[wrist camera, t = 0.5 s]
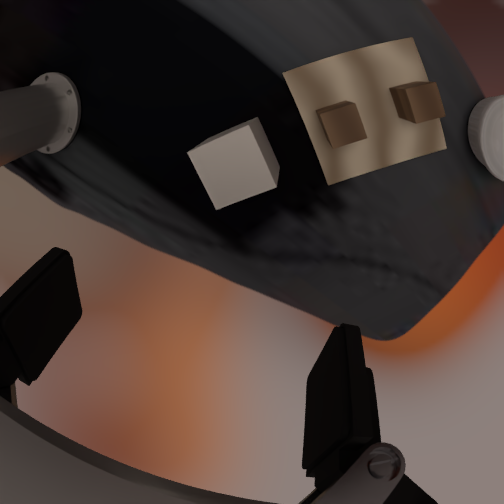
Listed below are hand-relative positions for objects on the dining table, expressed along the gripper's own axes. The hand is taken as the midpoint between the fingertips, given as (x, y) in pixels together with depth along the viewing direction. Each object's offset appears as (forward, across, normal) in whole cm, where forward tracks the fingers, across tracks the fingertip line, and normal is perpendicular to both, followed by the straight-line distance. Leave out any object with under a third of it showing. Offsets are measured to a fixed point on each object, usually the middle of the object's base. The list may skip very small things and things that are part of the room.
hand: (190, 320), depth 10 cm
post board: (+29, -10, -8) cm, 32 cm away
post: (+28, -14, -10) cm, 33 cm away
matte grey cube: (+29, +3, +1) cm, 29 cm away
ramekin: (+30, -28, -12) cm, 43 cm away
